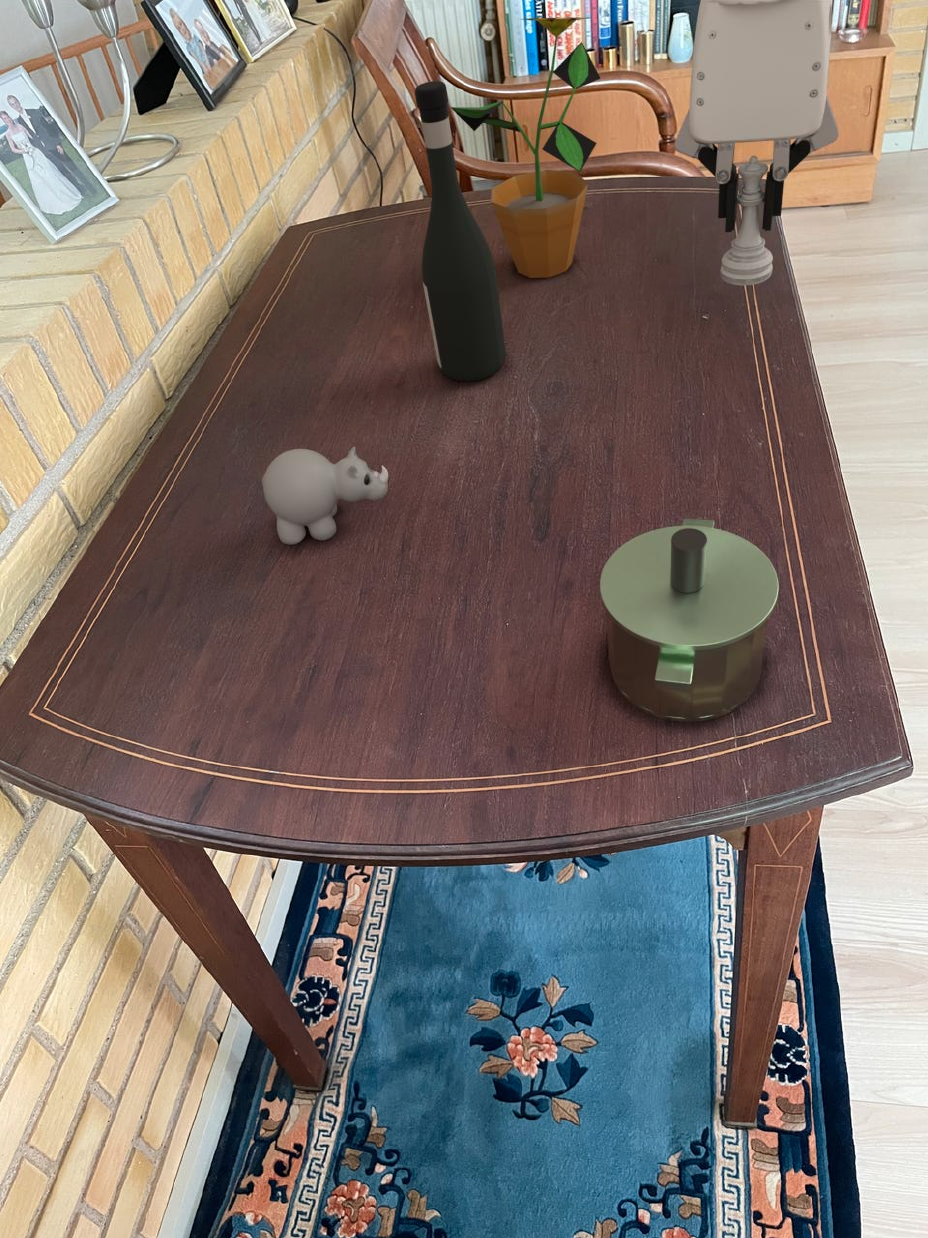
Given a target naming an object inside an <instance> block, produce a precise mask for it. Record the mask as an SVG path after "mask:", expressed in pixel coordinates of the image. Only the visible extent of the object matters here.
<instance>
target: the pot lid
mask: <svg viewBox="0 0 928 1238" xmlns="http://www.w3.org/2000/svg"><path fill="white" fill-rule="evenodd" d="M766 555H767V554H765V553H764V552H763V551H762V550H761V549H760V548H758V546H756V545H755V544H753V543H752V542H750V541H749V540H747V539H745V538H743V537H742V536H739V535H738V534H734V533H732V532H730V531H727V530H724V529H719V528H715V527H714V528H710V527H704V526H687V525H685V526H682V525H673V526H672V525H671V526H666V527H665V526H664V527H660V528H656V529H652V530H650V531H646V532H644V533H642V534H639V535H637V536H635V537H633V538H630V539H629V540H628V541H626V542H625V543H623V544H622V545H621V546H619V547H618V548H617V549H616V550H615V551H614V552H613V553H612V554H611V555H610V556H609V558H608V559H607V561H606V562H605V564H604V566H603V567H602V571H601V574H600V579H599V592H600V593H599V594H600V599H601V602H602V605H603V607H604V609H605V611H606V614H607V613H608V614H609V616H610V617H611V618H612V620H613V621H614V622H615V623H616V624H617V625H618V626H619V627H621V628H622V629H623V630H624V631H626V632H627V633H629V634H630V635H632V636H634V637H636V638H638V639H640V640H642V641H644V642H647V643H650V644H652V645H656V646H660V647H664V648H669V649H676V650H705V649H712V648H717V647H721V646H726V645H728V644H731V643H734V642H737V641H739V640H741V639H743V638H745V637H747V636H749V635H750V634H752V633H753V632H755V631H756V630H757V629H758V628H760V627H761V626H762V625H763V624H764V623H765V622H766V620H767V619H768V620H769V618H770V617H771V615H772V613H773V612H774V610H775V608H776V605H777V602H778V597H779V589H780V587H779V578H778V574H777V571H776V569H775V567H774V565H773V563H772V562H771V560H770V559H769V557H768V556H766Z"/></svg>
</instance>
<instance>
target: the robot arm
mask: <svg viewBox="0 0 928 1238" xmlns="http://www.w3.org/2000/svg"><path fill="white" fill-rule="evenodd" d="M832 7H833V6H832V0H700V2H699V7H698V11H697V19H696V24H695V25H696V26H695V34H694V43H693V53H692V61H691V73H690V86H689V87H690V88H689V104H688V105H689V108H688V110H687V112H686V115H685V117H684V119H683V122H682V124H681V127H680V129H679V131H678V134H676V135H677V136H676V137H675V140H674V144H673V148H674V150H675V151H676V152H678V153H680V154H682V155H685V156H687V157H689V158H691V159H695V160H697V161H699V162H700V164H702V165H703V167H705V169H707V171H709V173H711V174H712V175H713V176H714V178H715V181H716V182H717V184H718V204H717V205H718V207H717V209H718V211H717V218H718V219H725V225H724V227H725V228H724V233H732V232H733V231H735V228H736V221H737V217H738V203H737V201H736V200H737V195H738V194H739V182H740V174H739V173H738V169H737V165H735V164H734V160H735V149H736V144H739V143H740V144H741V143H756V142H758V143H759V142H773V148H772V149H773V152H772V162H771V164H770V165H769V169H768V170H769V171H767V172H766V177H765V185H764V193H765V196H764V202H763V209H762V210H763V211H762V226H761V229H762V230H764V232H770V231H772V223H773V217H781V216H782V211H783V210H782V209H783V201H784V187H785V180H786V179H787V178H788V175H789V174H790V173H791V172H793V170H794V169H796V168H797V166H799V165H800V164H801V163H802V162H803V161H804V160H805V159H806V158H807V157H808V156H809V154H811V153H814V152H816V151H817V152H818V150H821V149H823V148H825V147H827V146H829V145H831V144H833V143H834V142H836V141H837V140H838V138H839V125H838V122H837V121H836V117H835V114H834V111H833V109H832V106H831V103H830V100H829V97H828V95H827V94H828V86H829V73H830V57H831V43H832V13H833V12H832V11H833V10H832V9H833V8H832ZM792 140H794V141H793V142H792ZM791 142H792V143H791Z"/></svg>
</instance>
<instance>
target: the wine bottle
mask: <svg viewBox="0 0 928 1238" xmlns="http://www.w3.org/2000/svg"><path fill="white" fill-rule="evenodd" d="M414 97H415V104H416V107H417V108H418V112H419V116H420V122H421V128H422V133H423V134H422V135H423V140H424V144H425V145H424V146H425V150H426V151H425V152H426V156H427V164H428V168H429V169H428V170H429V176H430V183H431V184H430V185H431V200H430V201H431V203H430V210H429V211H430V212H429V217H428V223H427V228H426V232H425V233H426V234H425V238H424V243H423V249H422V257H421V278H422V285H423V291H424V297H425V302H426V307H427V313H428V319H429V324H430V329H431V335H432V340H433V345H434V351H435V358H436V361H437V366H438V368H439V370H440V372H441V374H443V376H445V377H446V378H448V379H450V380H452V381H456V382H466V383H467V382H469V383H471V382H476V381H477V382H478V381H481V380H485V379H487V378H489V377H492V376H493V375H495V374H496V373H497V372H499V371H500V370H501V369H502V367H503V366H504V364H505V362H506V356H507V355H506V353H507V352H506V343H505V333H504V326H503V318H502V309H501V302H500V293H499V286H498V285H499V284H498V278H497V277H498V276H497V270H496V265H495V260H494V257H493V254H492V251H491V249H490V246H489V244H488V241H487V239H486V237H485V235H484V233H483V231H482V230H481V227H480V226H479V224H478V222H477V221H476V218H475V217H474V215H473V214H472V212H471V209H470V208H469V205H468V204H467V201H466V199H465V197H464V195H463V192H462V189H461V185H460V182H459V178H458V172H457V167H456V160H455V152H454V145H453V139H452V131H451V123H450V116H449V108H448V106H449V105H448V103H449V96H448V89H447V85H446V83H445V82H443V81H440V80H431V81H427V82H423V83H421V84H418V85H417V86H416V87H415V89H414Z"/></svg>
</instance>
